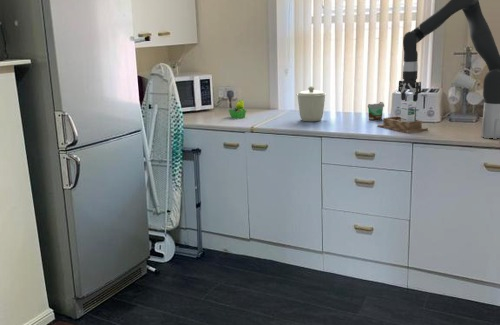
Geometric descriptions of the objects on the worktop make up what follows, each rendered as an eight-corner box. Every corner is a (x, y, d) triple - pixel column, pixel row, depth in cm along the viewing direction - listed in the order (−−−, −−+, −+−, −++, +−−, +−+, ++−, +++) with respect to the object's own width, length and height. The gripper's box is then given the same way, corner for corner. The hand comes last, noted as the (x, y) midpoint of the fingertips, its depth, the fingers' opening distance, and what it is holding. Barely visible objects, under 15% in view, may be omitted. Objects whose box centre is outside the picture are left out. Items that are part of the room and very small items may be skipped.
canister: (305, 124, 304) (305, 88, 298) (291, 119, 320) (291, 86, 315) (331, 121, 310) (331, 86, 305) (317, 117, 326) (316, 84, 321)
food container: (375, 121, 304) (376, 105, 301) (367, 120, 308) (367, 104, 306) (388, 118, 311) (388, 102, 309) (379, 117, 316) (380, 101, 313)
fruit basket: (228, 117, 338) (227, 100, 335) (238, 115, 343) (238, 99, 340) (237, 119, 329) (237, 102, 326) (248, 117, 334) (248, 100, 331)
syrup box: (406, 129, 274) (407, 102, 270) (400, 127, 279) (401, 101, 275) (415, 128, 275) (416, 101, 272) (409, 126, 281) (410, 100, 277)
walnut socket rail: (427, 130, 274) (428, 121, 273) (408, 133, 268) (408, 124, 266) (396, 123, 295) (396, 115, 293) (377, 126, 288) (377, 117, 287)
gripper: (425, 70, 265) (424, 101, 269) (405, 69, 277) (404, 98, 281) (414, 71, 261) (413, 102, 265) (395, 70, 274) (394, 100, 278)
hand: (409, 100), depth 273 cm, fingers open, 8 cm apart
